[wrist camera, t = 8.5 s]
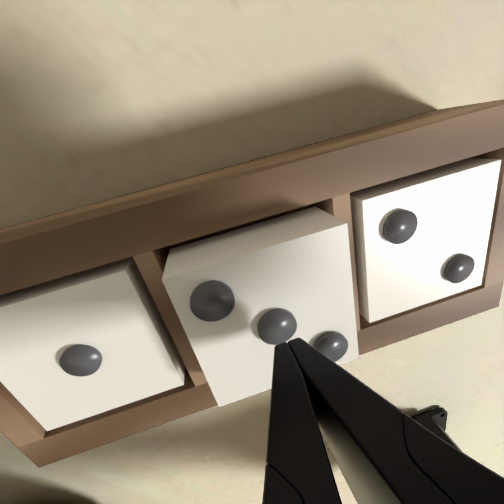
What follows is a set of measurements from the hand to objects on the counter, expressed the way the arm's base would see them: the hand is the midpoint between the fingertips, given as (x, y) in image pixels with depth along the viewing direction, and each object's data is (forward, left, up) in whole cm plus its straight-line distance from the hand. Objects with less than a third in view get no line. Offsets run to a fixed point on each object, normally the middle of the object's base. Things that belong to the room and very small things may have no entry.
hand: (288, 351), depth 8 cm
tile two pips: (0, -8, -5) cm, 9 cm away
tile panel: (0, 0, -7) cm, 7 cm away
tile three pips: (0, 0, -4) cm, 4 cm away
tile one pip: (0, +8, -5) cm, 9 cm away
